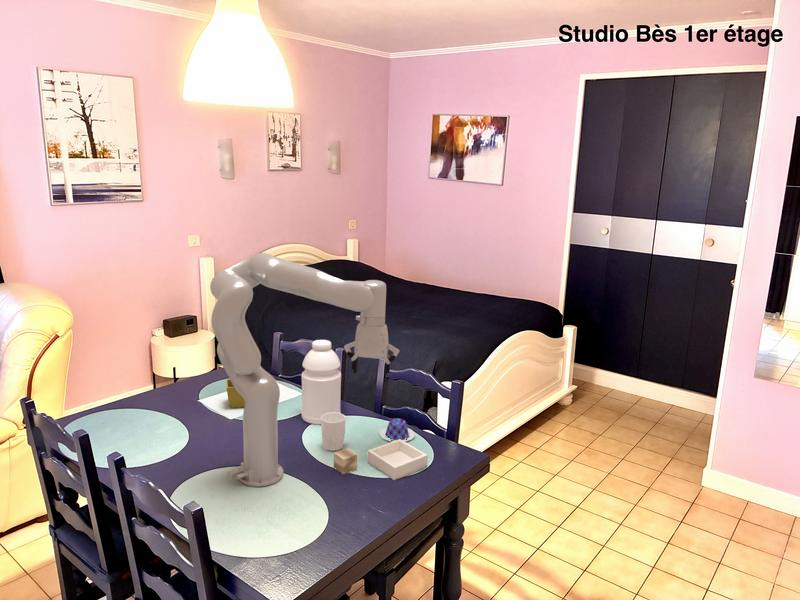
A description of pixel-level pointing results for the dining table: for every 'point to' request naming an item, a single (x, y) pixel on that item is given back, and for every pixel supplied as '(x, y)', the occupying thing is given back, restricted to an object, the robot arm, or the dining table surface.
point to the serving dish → (397, 459)
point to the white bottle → (320, 382)
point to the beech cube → (345, 461)
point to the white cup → (333, 430)
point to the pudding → (397, 430)
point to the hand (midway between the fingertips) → (370, 373)
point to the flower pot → (234, 395)
